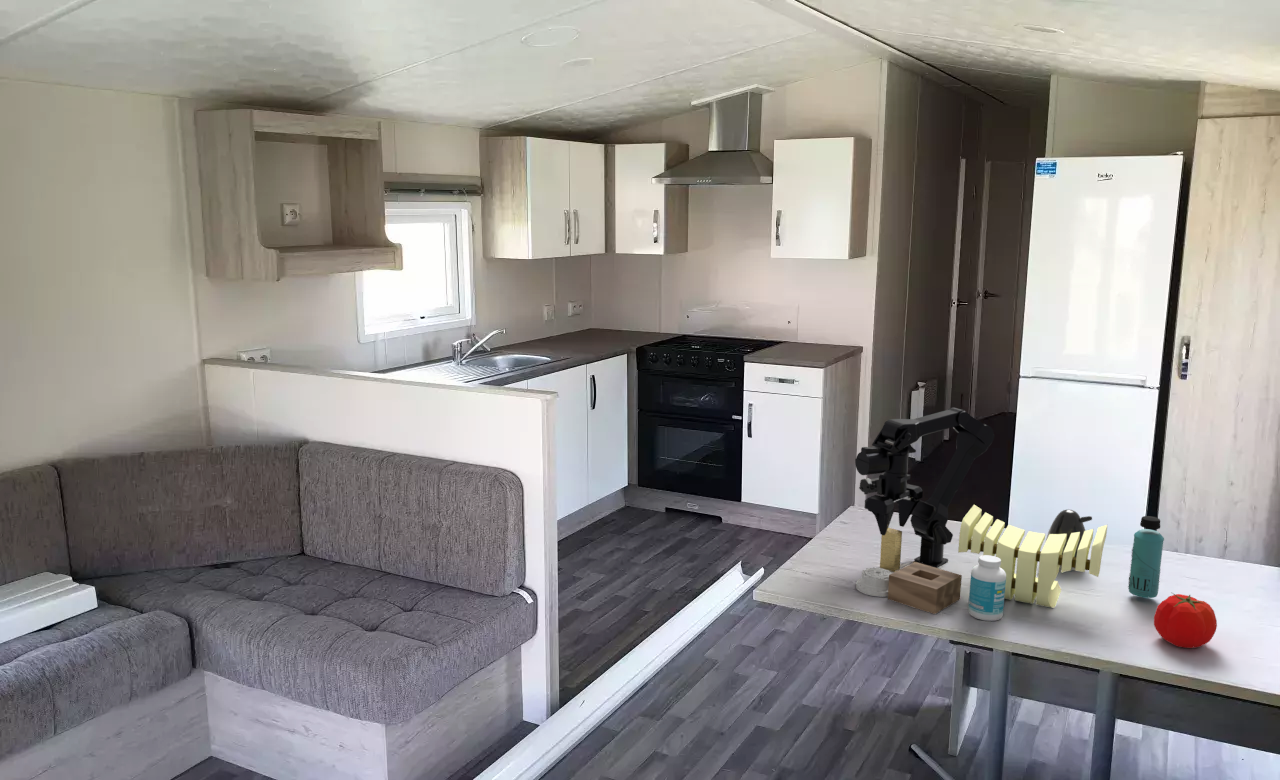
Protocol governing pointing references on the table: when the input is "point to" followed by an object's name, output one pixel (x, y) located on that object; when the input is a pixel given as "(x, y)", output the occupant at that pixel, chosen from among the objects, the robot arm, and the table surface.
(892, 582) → the slotted wooden block
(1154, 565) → the beverage bottle
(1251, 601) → the table surface
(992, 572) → the pill bottle
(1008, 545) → the slatted curved stool
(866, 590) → the mechanical component
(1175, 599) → the tomato
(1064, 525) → the pump dispenser
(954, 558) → the table surface
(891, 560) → the brushed gold block
